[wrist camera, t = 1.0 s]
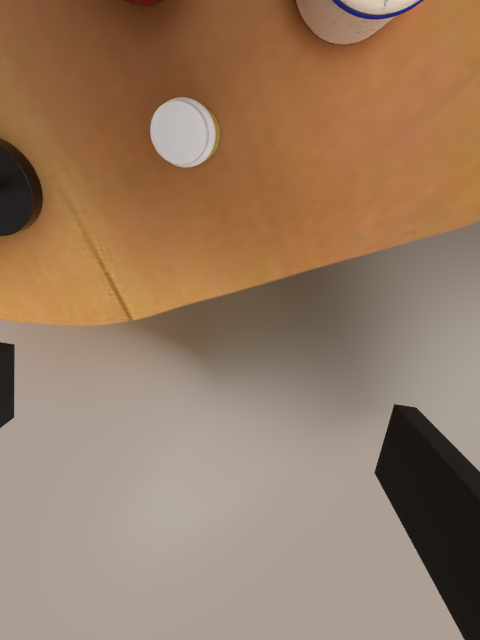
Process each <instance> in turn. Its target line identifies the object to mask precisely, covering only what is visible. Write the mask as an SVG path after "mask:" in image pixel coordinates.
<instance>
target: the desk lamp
mask: <svg viewBox="0 0 480 640" xmlns="http://www.w3.org/2000/svg"><path fill="white" fill-rule="evenodd" d="M41 206H42V190H41V186H40V182H39V179H38V177H37V175H36V173H35V171H34V169H33V167H32V166H31V164H30V163H29V161H28V160H27V159H26V158H25V157H24V156H23V154H22V153H21V152H19V151H18V150H17V149H16V148H15V147H13V146H12V145H11V144H9V143H8V142H6V141H4V140H2V139H0V236H7V235H11V234H14V233H16V232H19V231H21V230H23V229H25V228H27V227H29V226H30V225H31V224H32V223H33V222H34V221H35V220H36V219H37V217H38V215H39V213H40V210H41Z"/></svg>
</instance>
